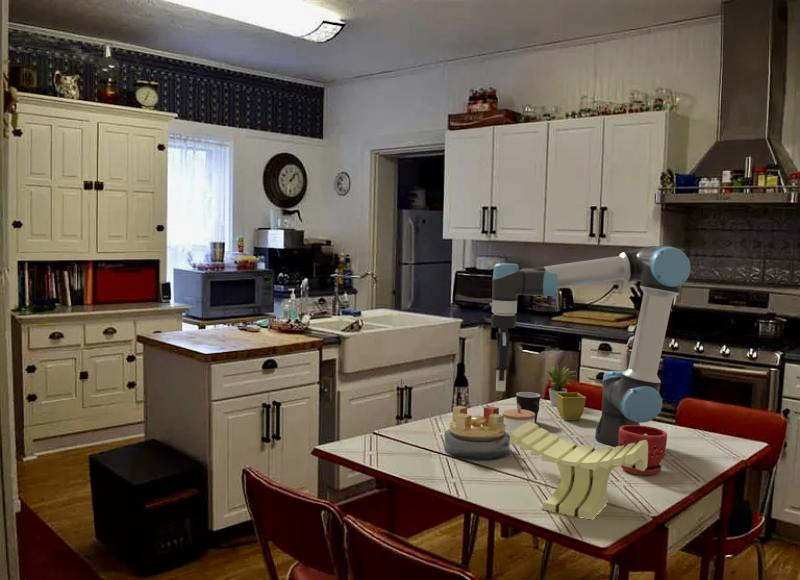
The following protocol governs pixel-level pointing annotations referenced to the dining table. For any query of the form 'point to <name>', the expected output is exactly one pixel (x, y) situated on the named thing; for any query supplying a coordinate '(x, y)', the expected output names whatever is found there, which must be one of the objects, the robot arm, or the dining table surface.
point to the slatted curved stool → (579, 468)
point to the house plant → (558, 383)
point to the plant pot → (653, 438)
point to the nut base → (476, 448)
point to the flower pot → (570, 405)
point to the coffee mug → (528, 402)
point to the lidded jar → (517, 418)
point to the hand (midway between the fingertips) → (500, 390)
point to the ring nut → (477, 425)
